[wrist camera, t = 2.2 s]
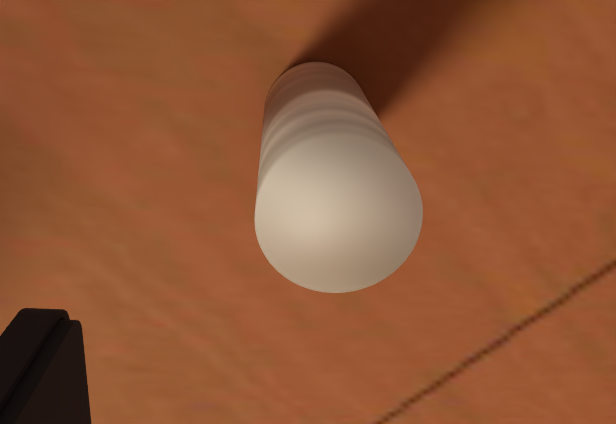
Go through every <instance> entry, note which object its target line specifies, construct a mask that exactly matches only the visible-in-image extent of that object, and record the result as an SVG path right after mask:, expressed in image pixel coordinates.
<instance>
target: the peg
mask: <svg viewBox="0 0 616 424" xmlns="http://www.w3.org/2000/svg"><path fill="white" fill-rule="evenodd" d="M422 217H423V209H422V201H421V196H420V192H419V190H418V187H417V184H416V182H415V181H414V179H413V177H412V175H411V173H410V172H409V170H408V168H407V166H406V165H405V163H404V161H403V160H402V158H401V156H400V155H399V153H398V151H397V149H396V148H395V146H394V144H393V143H392V141H391V139H390V138H389V136H388V134H387V132H386V131H385V129H384V127H383V126H382V124H381V122H380V120H379V119H378V117H377V115H376V114H375V112H374V110H373V109H372V107H371V105H370V103H369V102H368V100H367V98H366V97H365V95H364V93H363V91H362V90H361V88H360V86H359V85H358V83H357V82H356V81H355V79H354V78H353V77H352V76H351V75H350V74H349V73H347V72H346V71H345V70H343V69H341V68H340V67H338V66H335V65H333V64H329V63H325V62H307V63H302V64H299V65H296V66H294V67H292V68H290V69H289V70H287V71H286V72H284V73H283V74H282V75H281V76H280V77H279V78H278V79H277V80H276V81H275V82H274V84H273V85H272V87H271V89H270V90H269V92H268V95H267V98H266V102H265V108H264V119H263V130H262V141H261V152H260V163H259V175H258V186H257V197H256V208H255V229H256V235H257V239H258V242H259V245H260V247H261V249H262V251H263V253H264V255H265V256H266V258H267V259H268V261H269V262H270V264H271V265H272V266H273V267H274V268H275V269H276V270H277V271H278V272H279V273H281V274H282V275H283V276H284V277H286V278H287V279H289V280H290V281H292V282H294V283H296V284H298V285H300V286H302V287H305V288H308V289H311V290H315V291H320V292H329V293H343V292H350V291H355V290H359V289H363V288H366V287H369V286H371V285H374V284H376V283H377V282H379V281H381V280H383V279H385V278H386V277H388V276H389V275H391V274H392V273H393V272H394V271H395V270H396V269H398V268H399V267H400V266H401V265H402V263H403V262H404V261H405V260H406V259H407V257H408V256H409V255H410V253H411V252H412V250H413V248H414V246H415V244H416V242H417V239H418V237H419V234H420V230H421V226H422Z"/></svg>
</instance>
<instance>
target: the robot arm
mask: <svg viewBox="0 0 616 424" xmlns="http://www.w3.org/2000/svg"><path fill="white" fill-rule="evenodd" d="M0 424H91V416H90V406H89V395H88V385H87V375H86V365H85V354H84V344H83V334H82V326H81V323H80V321H78V320H70V319H69V315H68V313H67V311H65V310H62V309H36V308H24V309H22V310H20V311H19V312H18V314H17V315H16V316H15V317H14V319H13V320H12V321H11V323H10V324H9V325H8V327H7V328H6V329H5V331H4V332H3V333H2V335H1V336H0Z"/></svg>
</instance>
